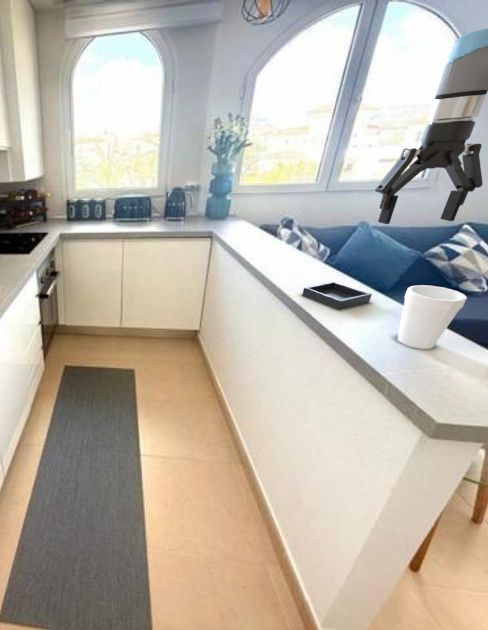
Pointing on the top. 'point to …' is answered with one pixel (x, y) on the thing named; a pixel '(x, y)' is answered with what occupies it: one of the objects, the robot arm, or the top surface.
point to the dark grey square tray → (336, 295)
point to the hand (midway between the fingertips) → (414, 221)
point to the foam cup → (427, 314)
